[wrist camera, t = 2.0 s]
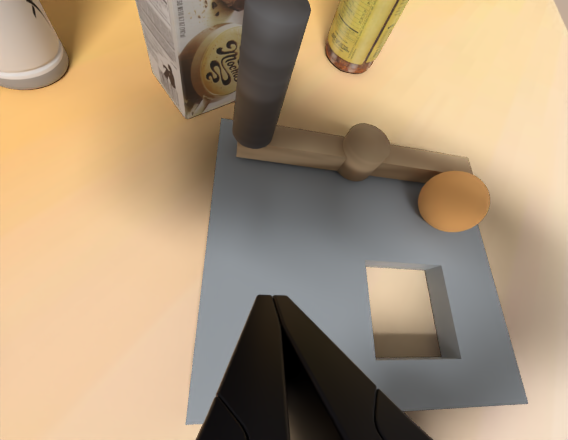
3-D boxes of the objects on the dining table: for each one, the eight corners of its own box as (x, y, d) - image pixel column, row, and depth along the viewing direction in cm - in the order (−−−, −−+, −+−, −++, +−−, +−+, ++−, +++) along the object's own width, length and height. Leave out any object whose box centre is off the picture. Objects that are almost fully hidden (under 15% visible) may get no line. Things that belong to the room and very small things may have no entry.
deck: (502, 397, 22) (528, 403, 20) (188, 415, 17) (185, 424, 15) (444, 168, 30) (459, 157, 29) (220, 133, 25) (221, 118, 23)
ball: (460, 242, 24) (516, 221, 20) (410, 237, 23) (457, 215, 19) (447, 192, 26) (496, 163, 22) (401, 185, 25) (442, 153, 21)
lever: (457, 195, 26) (609, 108, 16) (229, 164, 21) (242, 18, 11) (448, 162, 27) (584, 64, 17) (232, 127, 23) (247, -32, 13)
